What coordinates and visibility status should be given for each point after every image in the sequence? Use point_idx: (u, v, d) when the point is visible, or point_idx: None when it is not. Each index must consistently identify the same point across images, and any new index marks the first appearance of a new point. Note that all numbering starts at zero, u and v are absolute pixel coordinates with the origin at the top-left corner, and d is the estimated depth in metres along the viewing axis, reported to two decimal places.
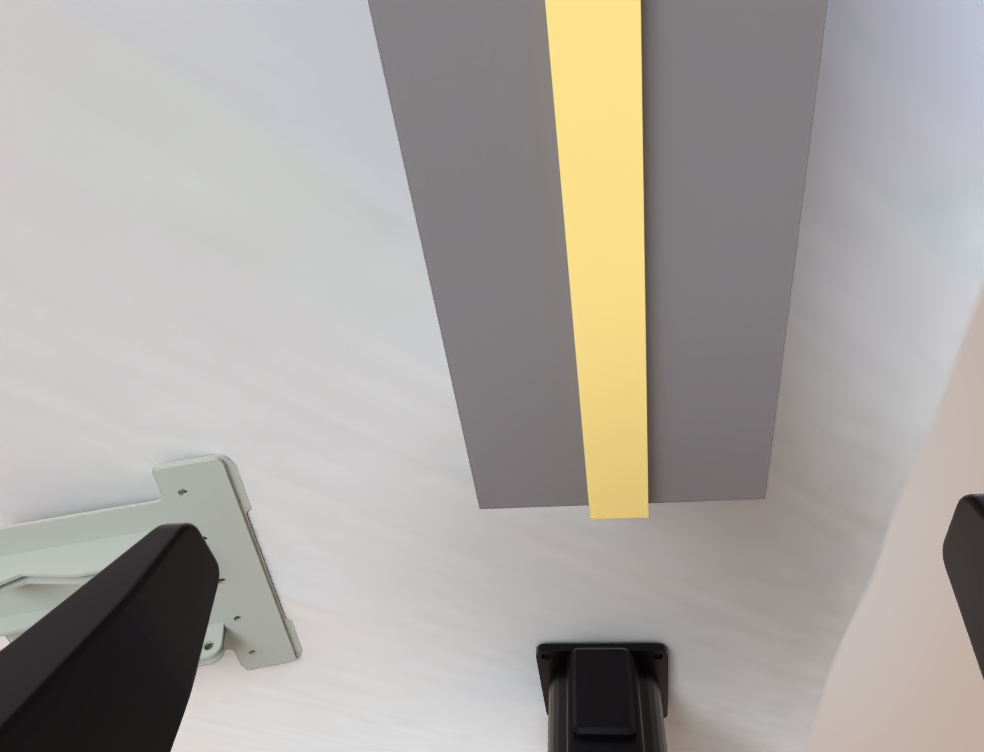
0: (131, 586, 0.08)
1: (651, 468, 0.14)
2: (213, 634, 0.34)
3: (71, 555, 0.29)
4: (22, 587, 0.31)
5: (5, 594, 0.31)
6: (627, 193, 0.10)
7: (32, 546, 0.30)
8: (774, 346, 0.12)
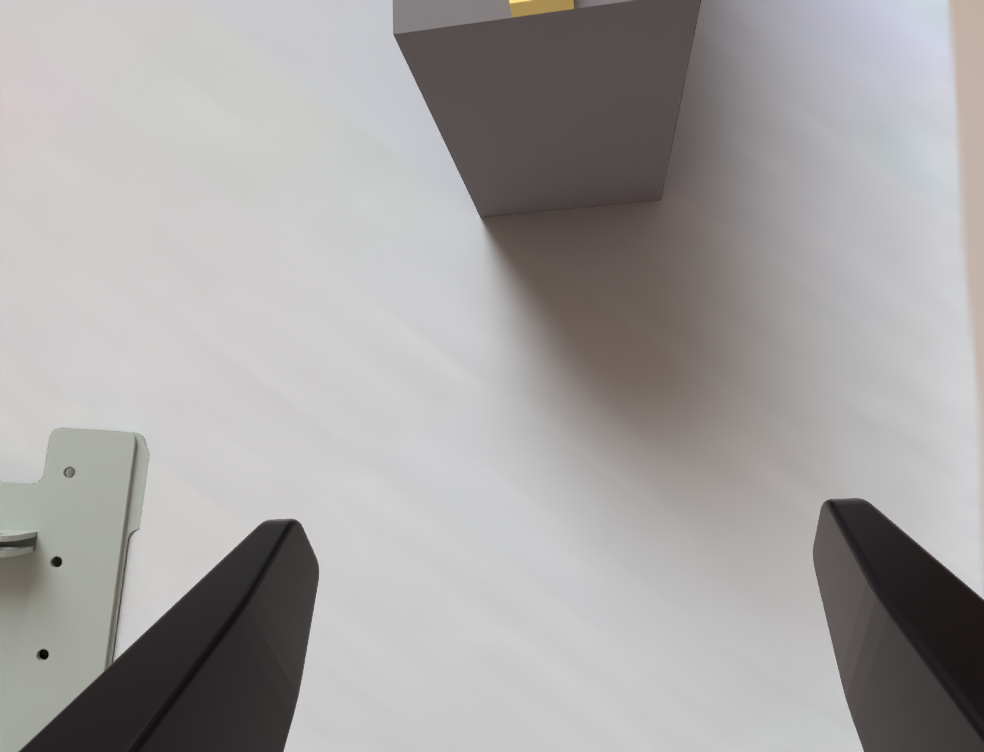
0: (250, 583, 0.07)
1: None
2: None
3: None
4: None
5: None
6: None
7: None
8: None
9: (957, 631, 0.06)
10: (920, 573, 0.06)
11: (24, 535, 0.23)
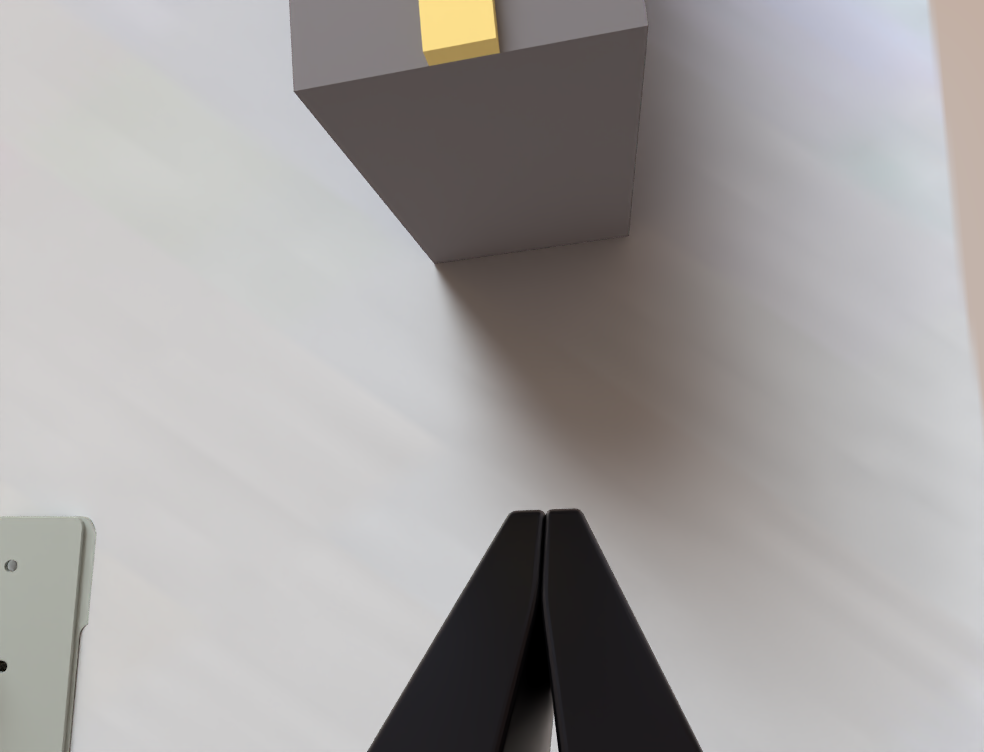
0: (533, 577, 0.07)
1: None
2: None
3: None
4: None
5: None
6: None
7: None
8: None
9: (587, 635, 0.06)
10: (586, 580, 0.07)
11: None
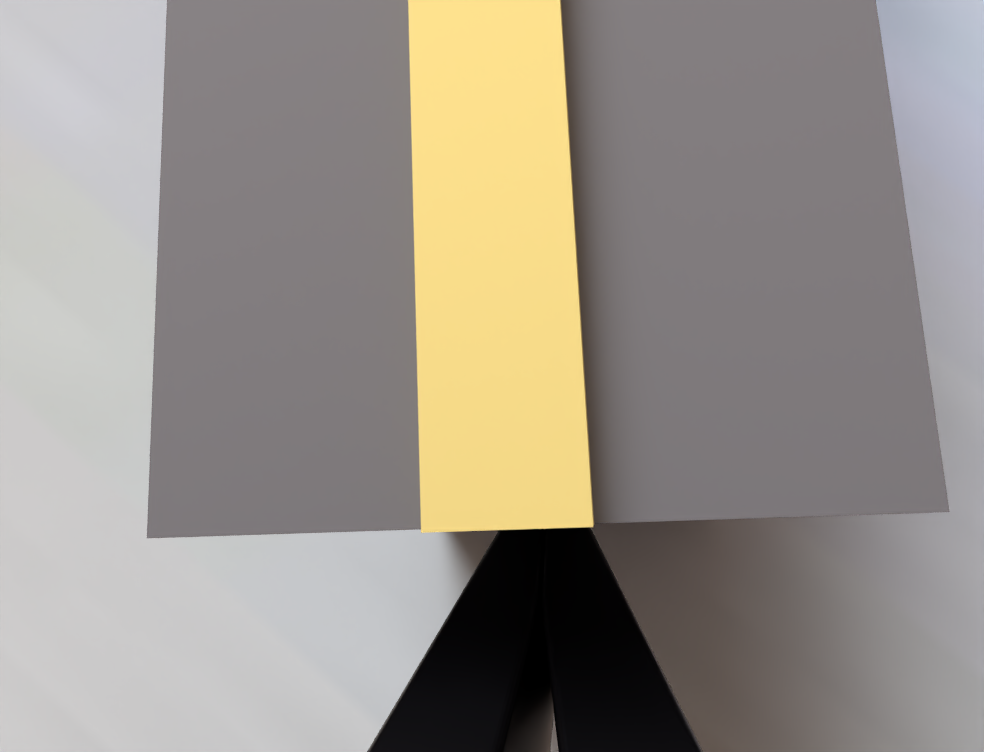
0: (533, 577, 0.07)
1: (598, 387, 0.05)
2: None
3: None
4: None
5: None
6: None
7: None
8: (853, 10, 0.05)
9: (587, 635, 0.06)
10: (587, 580, 0.07)
11: None
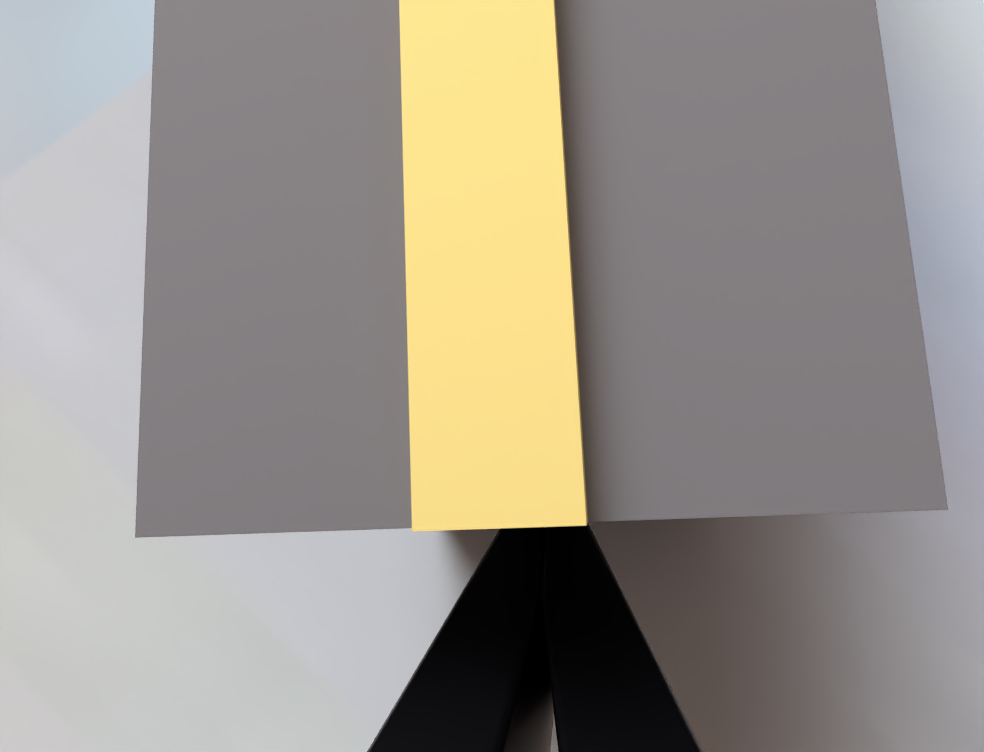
0: (532, 577, 0.07)
1: (592, 384, 0.05)
2: None
3: None
4: None
5: None
6: None
7: None
8: (851, 0, 0.05)
9: (587, 635, 0.06)
10: (586, 581, 0.07)
11: None
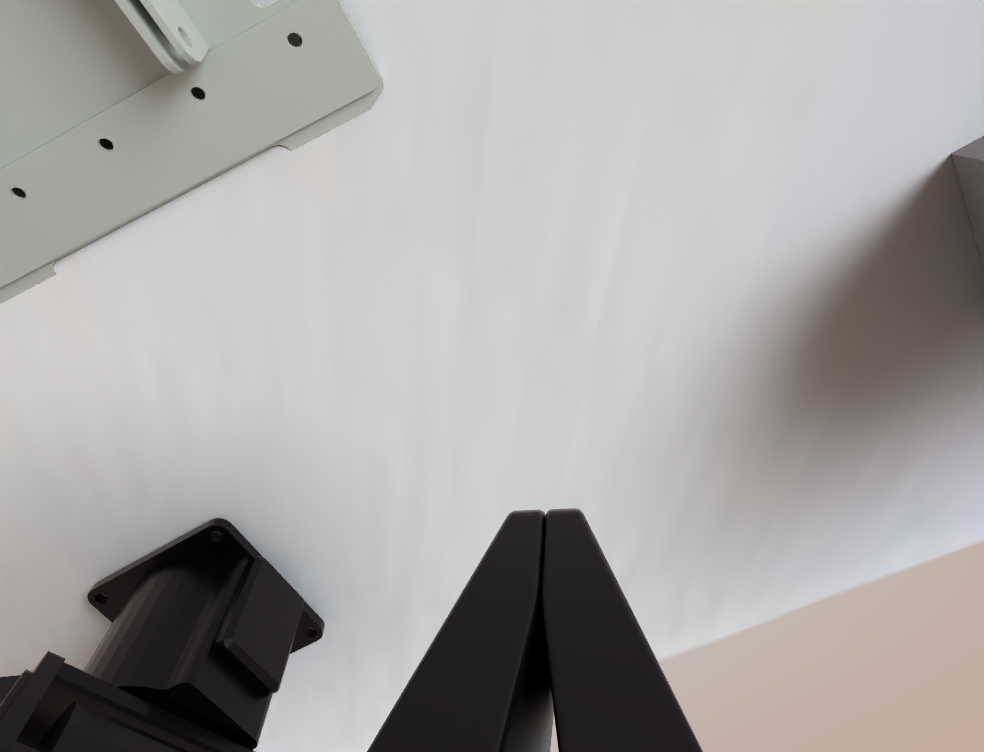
0: (533, 577, 0.07)
1: None
2: None
3: None
4: None
5: None
6: None
7: None
8: None
9: (587, 635, 0.06)
10: (587, 580, 0.07)
11: (202, 57, 0.17)
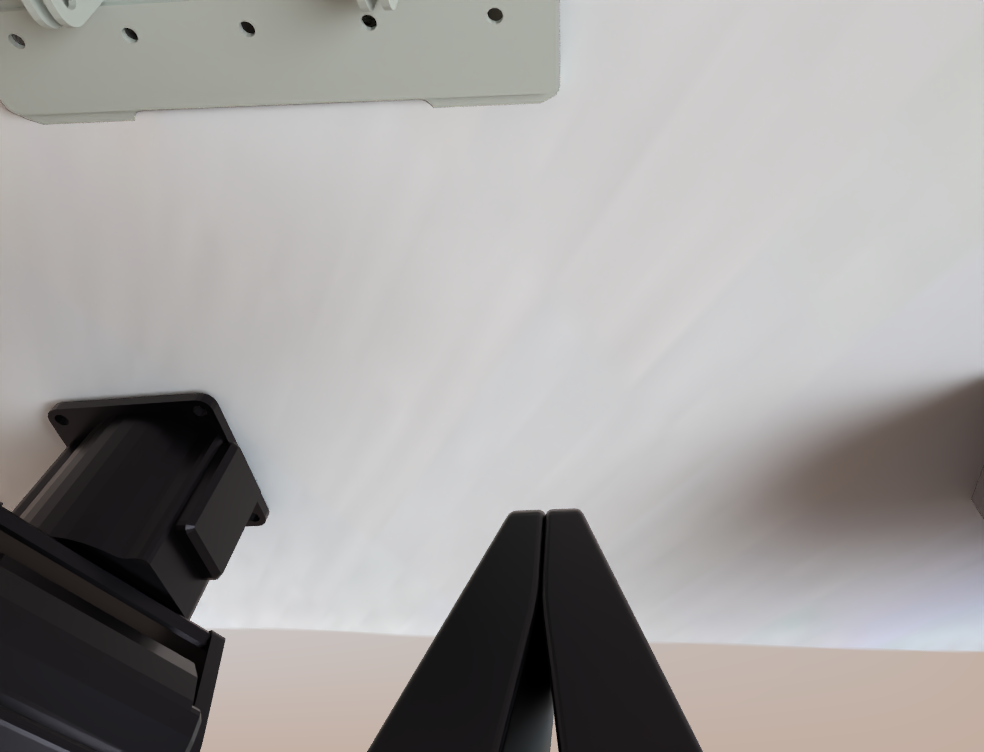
0: (532, 577, 0.07)
1: None
2: None
3: None
4: None
5: None
6: None
7: None
8: None
9: (587, 635, 0.06)
10: (587, 580, 0.07)
11: None
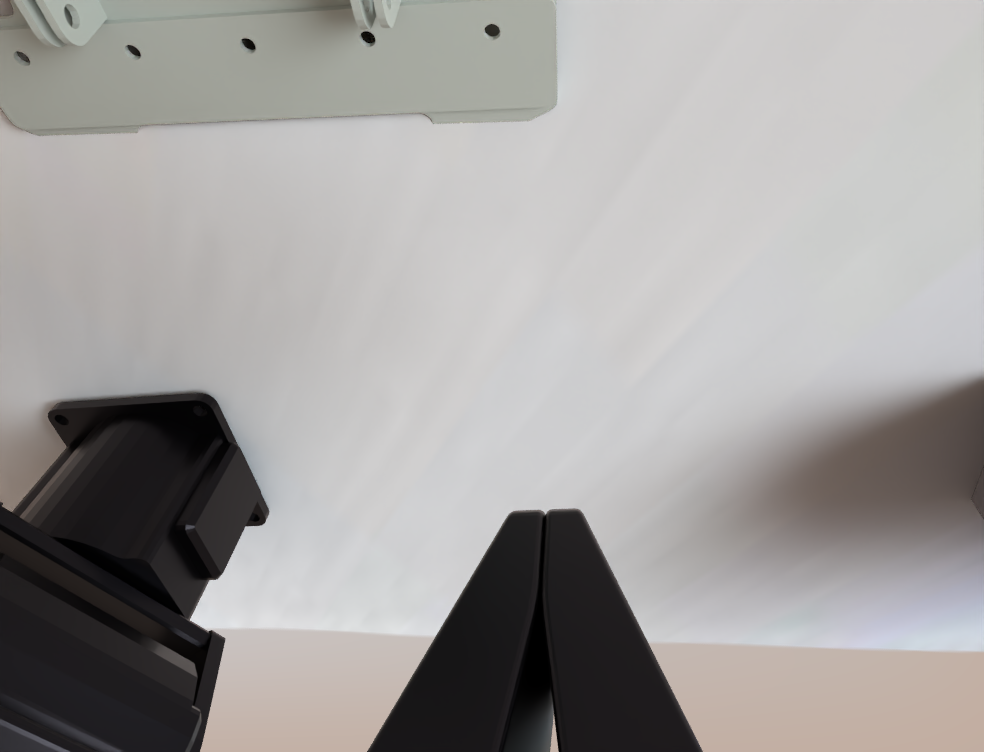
0: (532, 577, 0.07)
1: None
2: (87, 11, 0.16)
3: None
4: None
5: None
6: None
7: None
8: None
9: (587, 635, 0.06)
10: (587, 581, 0.07)
11: None
